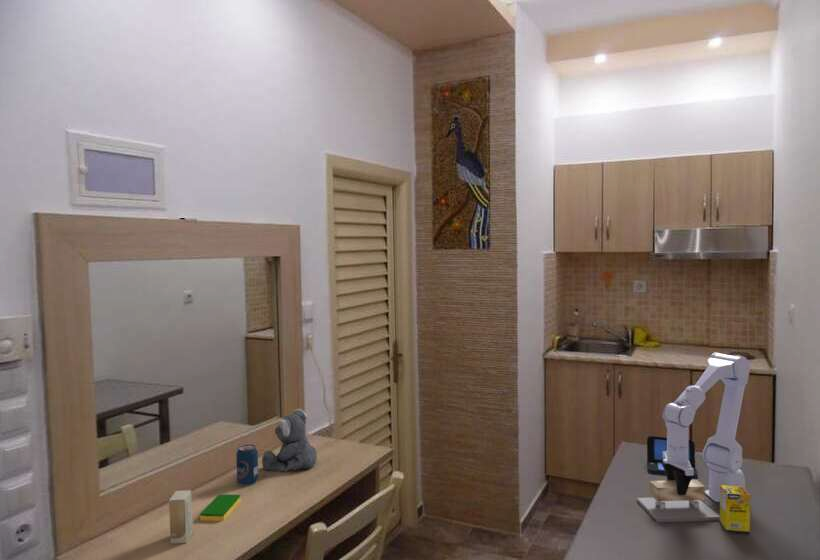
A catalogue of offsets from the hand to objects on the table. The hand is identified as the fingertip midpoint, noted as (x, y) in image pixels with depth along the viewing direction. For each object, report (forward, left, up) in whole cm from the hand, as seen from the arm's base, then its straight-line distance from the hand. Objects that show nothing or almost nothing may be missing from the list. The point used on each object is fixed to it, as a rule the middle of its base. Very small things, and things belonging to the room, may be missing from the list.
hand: (677, 490), depth 173 cm
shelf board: (0, 0, -2) cm, 2 cm away
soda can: (+132, -31, -6) cm, 136 cm away
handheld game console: (-14, -32, -6) cm, 35 cm away
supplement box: (-10, +12, -6) cm, 17 cm away
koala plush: (+119, -46, -6) cm, 128 cm away
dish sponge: (+135, -10, -7) cm, 136 cm away
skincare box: (+141, +7, -6) cm, 141 cm away
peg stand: (0, 0, -6) cm, 6 cm away
